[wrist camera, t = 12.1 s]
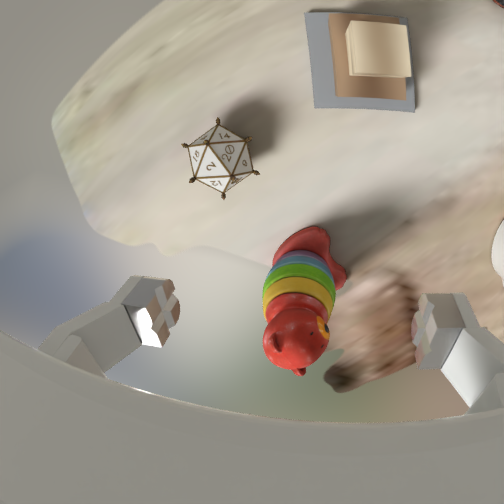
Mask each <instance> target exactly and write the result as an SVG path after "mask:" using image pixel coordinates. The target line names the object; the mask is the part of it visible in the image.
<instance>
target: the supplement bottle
mask: <svg viewBox="0 0 504 504" xmlns="http://www.w3.org/2000/svg"><path fill="white" fill-rule="evenodd" d="M493 1H494V2H495V3H496V4H498V5H499V6H501V7H503V8H504V0H493Z"/></svg>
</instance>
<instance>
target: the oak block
mask: <svg viewBox="0 0 504 504" xmlns="http://www.w3.org/2000/svg"><path fill="white" fill-rule="evenodd" d="M345 36H346V45H347V54H348V64H349V75H350V76H372V77H386V78H402V77H411V64H410V53H409V44H408V36H407V28H406V25H399V24H390V23H381V22H368V21H351V22H350V24H349V26H348V28H347V30H346V33H345Z"/></svg>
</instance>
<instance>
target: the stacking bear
mask: <svg viewBox="0 0 504 504" xmlns="http://www.w3.org/2000/svg"><path fill="white" fill-rule="evenodd" d="M329 246H330V237H329V235H327V233H326V230H324V229H320V228H319V227H309V228H306V229H303V230H301V231H299V232H297V233H295V234H294V235H292V236H291V237H289V238H288V239H287V240H286V241H285V242H284V243H283V244H282V245H281V246H280V247H279V248H278V250H277V252H276V253H275V255H274V258H273V267H272V269H271V270H270V272H269V274H268V276H267V278H266V280H265V283H264V287H263V312H264V316H265V318H266V321H267V322H268V325H267V327H266V329H265V332H264V336H263V348H264V351H265V354H266V356H267V357H268V359H269V360H270V361H271V362H272V363H273V364H275V365H276V366H279V367H281V368H284V369H291V370H292V371H293V372H294V374H296V375H298V376H303V375H304V374H305V373H306V367H307V366H309V365H311V364H312V363H314V362H315V361H316V360H317V359H318V358H319V357H320V356H321V355H322V353H323V352H324V351H325V349H326V347H327V345H328V342H329V337H330V333H329V328H328V326H327V322H328V320H329V318H330V316H331V312H332V309H333V306H334V302H335V294H336V293H335V291H336V290H338V289H340V288H342V287H343V285H344V283H345V281H346V279H347V276H346V274H345V269H344V268H343V267H342V266H340V265H338V264H337V263H336V262H335V261H334V260H333V259H332V257H331V255H330V252H329Z"/></svg>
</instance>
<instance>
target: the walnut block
mask: <svg viewBox="0 0 504 504" xmlns="http://www.w3.org/2000/svg"><path fill="white" fill-rule="evenodd" d="M351 21H368V22H381V23H390V24H399V25H400V22H399V18H396V17H388V16H378V15H366V14H344V13H329V18H328V27H329V35H330V43H331V52H332V61H333V72H334V83H335V96H337V97H363V98H381V99H394V100H405V101H406V80H405V77H402V78H386V77H372V76H350V75H349V64H348V54H347V45H346V36H345V33H346V30H347V28H348V26H349V24H350V22H351Z"/></svg>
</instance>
